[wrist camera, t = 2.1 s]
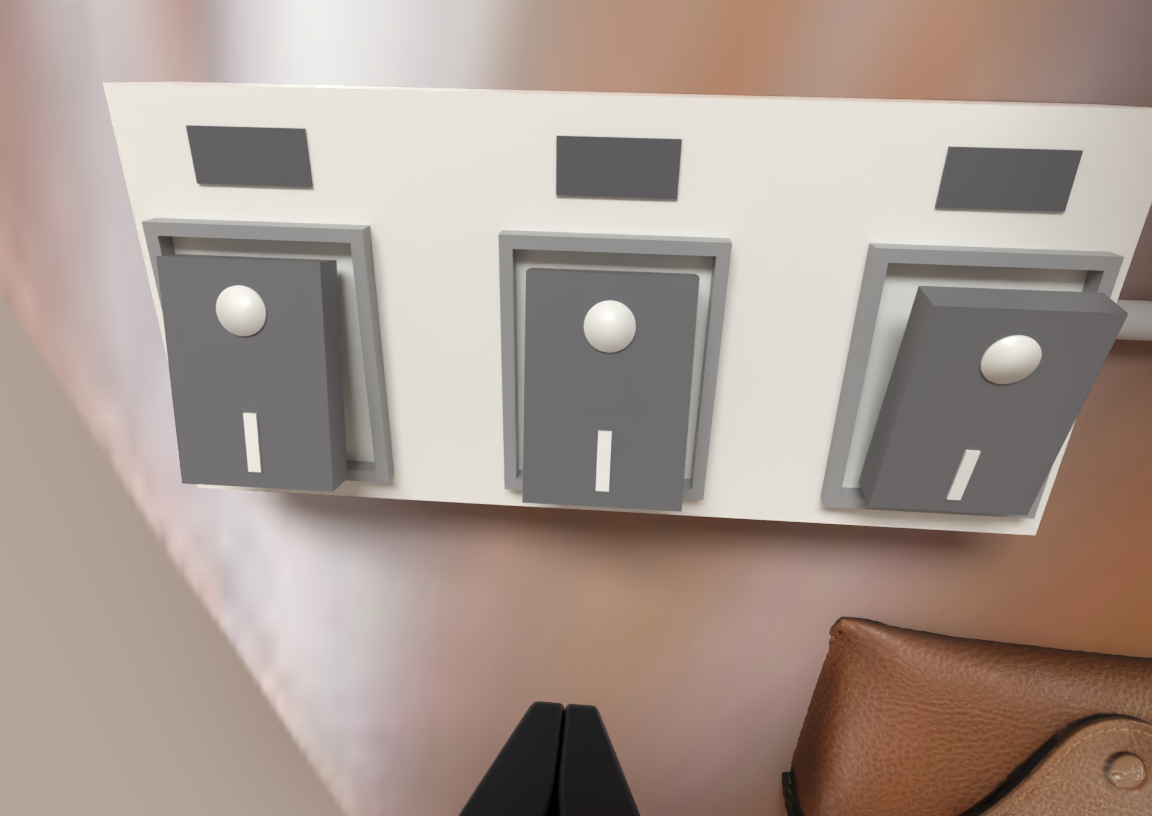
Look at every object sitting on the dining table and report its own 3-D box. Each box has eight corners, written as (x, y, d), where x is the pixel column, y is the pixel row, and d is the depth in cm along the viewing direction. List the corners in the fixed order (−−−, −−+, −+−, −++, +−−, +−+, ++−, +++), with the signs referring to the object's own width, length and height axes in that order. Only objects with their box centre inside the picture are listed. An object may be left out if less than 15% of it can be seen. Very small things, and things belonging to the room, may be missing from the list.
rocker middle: (695, 274, 16) (699, 277, 15) (678, 496, 17) (681, 512, 16) (531, 267, 16) (525, 270, 15) (527, 488, 17) (522, 503, 16)
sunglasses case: (1399, 660, 23) (1542, 920, 19) (1229, 709, 28) (1313, 916, 25) (819, 609, 23) (844, 848, 20) (770, 667, 29) (782, 860, 25)
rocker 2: (1103, 292, 14) (1130, 315, 13) (1010, 489, 17) (1028, 517, 16) (918, 285, 14) (934, 307, 14) (858, 481, 17) (868, 508, 17)
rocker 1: (336, 259, 16) (319, 262, 15) (347, 478, 17) (332, 492, 16) (181, 253, 16) (154, 256, 15) (204, 470, 18) (180, 484, 17)
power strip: (1343, 110, 16) (1513, 117, 13) (1179, 486, 21) (1279, 560, 17) (183, 82, 18) (86, 83, 15) (250, 437, 22) (186, 497, 19)
